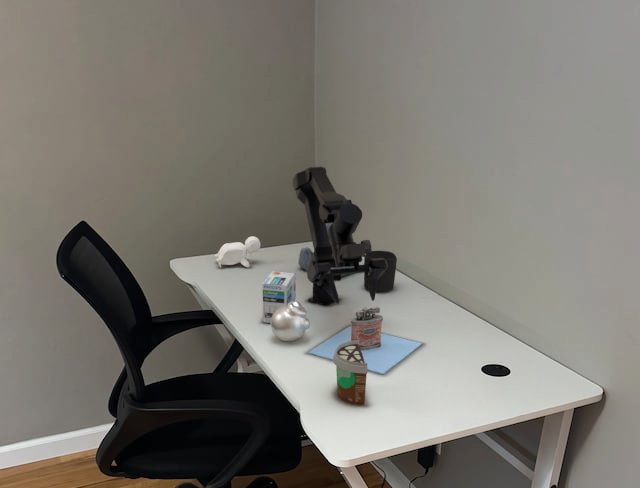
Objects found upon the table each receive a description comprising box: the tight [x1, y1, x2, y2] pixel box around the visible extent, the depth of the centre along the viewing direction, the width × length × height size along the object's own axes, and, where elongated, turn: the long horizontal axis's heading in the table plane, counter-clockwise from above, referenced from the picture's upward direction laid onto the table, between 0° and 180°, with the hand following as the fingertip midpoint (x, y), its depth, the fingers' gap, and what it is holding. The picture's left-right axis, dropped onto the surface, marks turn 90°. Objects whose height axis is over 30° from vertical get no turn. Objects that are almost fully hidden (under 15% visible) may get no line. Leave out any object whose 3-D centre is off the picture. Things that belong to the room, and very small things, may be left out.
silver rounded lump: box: [270, 300, 311, 342], centre depth 170 cm, size 9×10×10 cm
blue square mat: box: [308, 325, 422, 375], centre depth 168 cm, size 20×20×1 cm
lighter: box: [350, 306, 384, 351], centre depth 166 cm, size 8×3×10 cm, turn 113°
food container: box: [332, 340, 368, 406], centre depth 145 cm, size 12×6×10 cm, turn 5°
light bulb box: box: [261, 270, 297, 324], centre depth 183 cm, size 11×7×11 cm, turn 168°
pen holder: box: [363, 250, 398, 294], centre depth 204 cm, size 9×9×10 cm
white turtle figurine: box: [214, 235, 261, 269], centre depth 224 cm, size 9×8×15 cm
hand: (356, 301), depth 170 cm, fingers open, 9 cm apart
